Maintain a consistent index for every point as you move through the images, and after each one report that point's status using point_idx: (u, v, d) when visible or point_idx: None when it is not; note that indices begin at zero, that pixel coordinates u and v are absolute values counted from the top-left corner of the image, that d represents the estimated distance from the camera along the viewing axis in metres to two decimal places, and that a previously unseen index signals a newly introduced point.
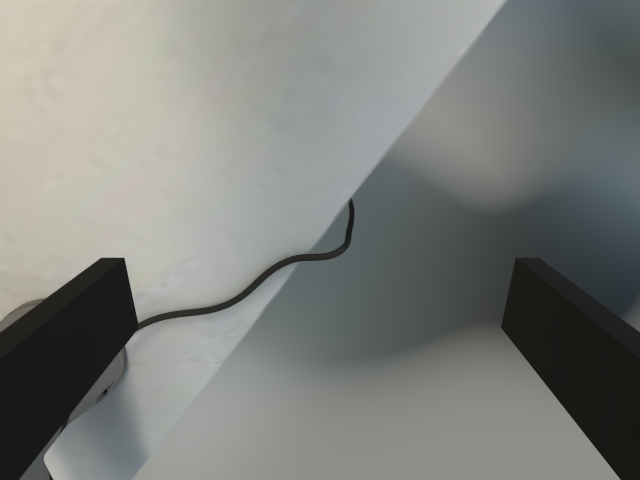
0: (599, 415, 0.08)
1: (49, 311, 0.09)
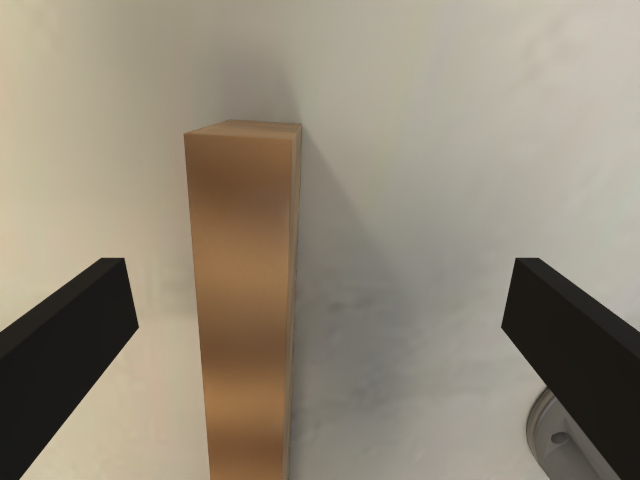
0: (599, 415, 0.08)
1: (49, 311, 0.09)
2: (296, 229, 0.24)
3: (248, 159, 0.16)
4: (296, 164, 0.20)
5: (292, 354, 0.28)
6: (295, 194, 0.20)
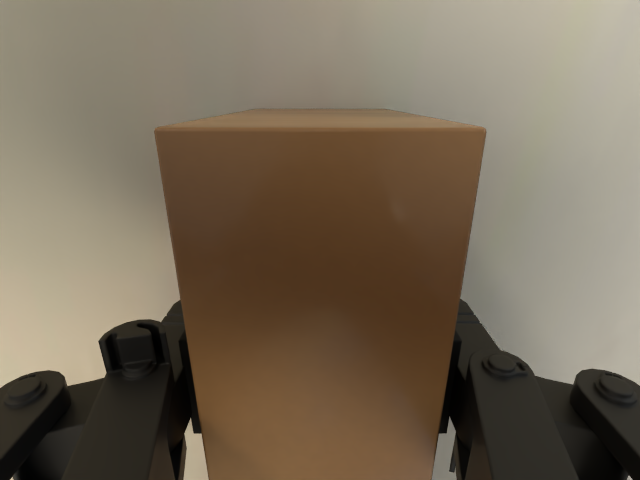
0: None
1: None
2: None
3: (349, 194, 0.05)
4: None
5: None
6: None
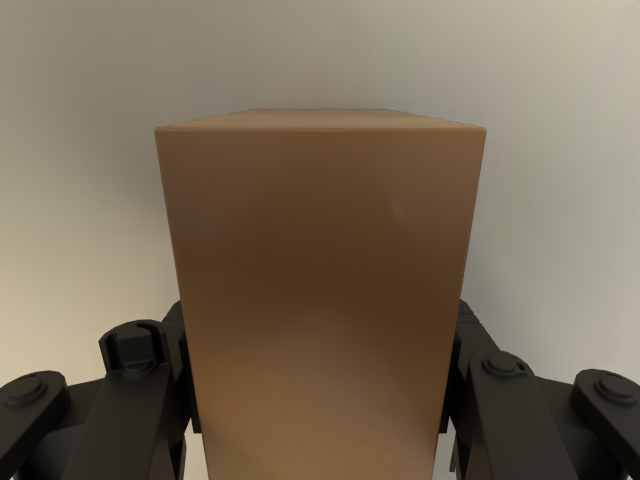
0: None
1: None
2: None
3: (349, 195, 0.05)
4: None
5: None
6: None
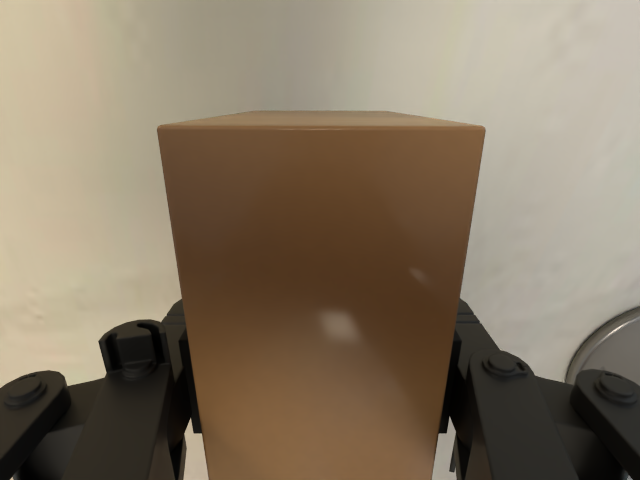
0: None
1: None
2: None
3: (350, 193, 0.05)
4: None
5: None
6: None
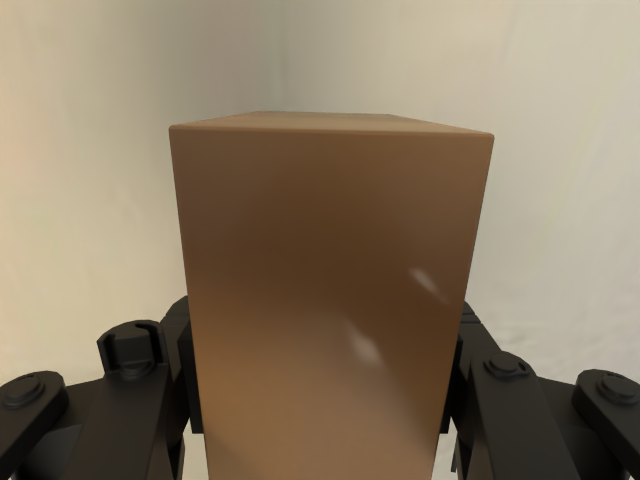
0: None
1: None
2: None
3: (359, 196, 0.06)
4: None
5: None
6: None
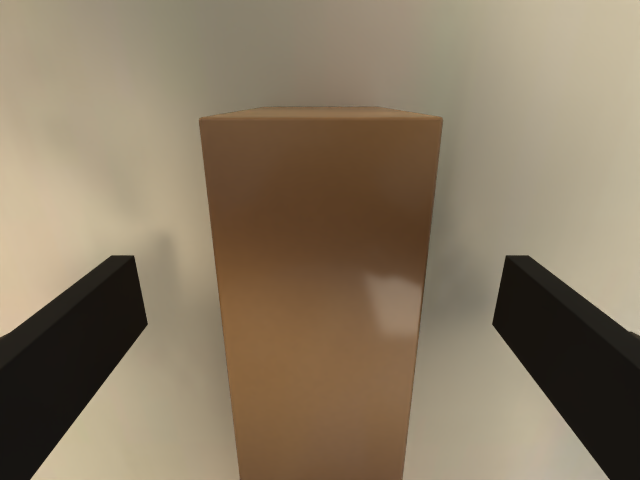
0: (583, 408, 0.09)
1: (63, 307, 0.09)
2: None
3: (343, 168, 0.07)
4: None
5: None
6: None
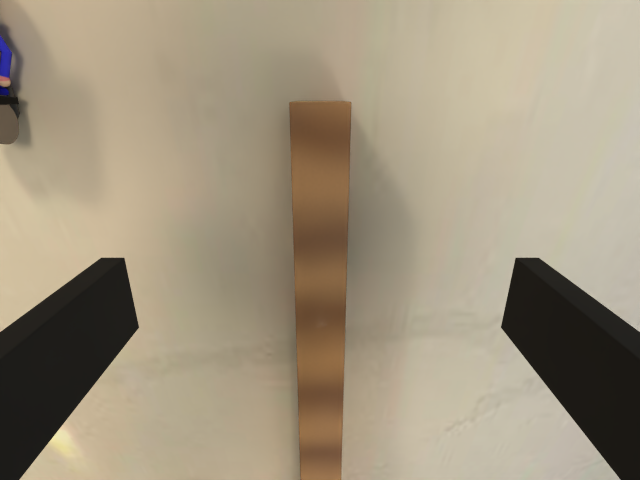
0: (599, 414, 0.08)
1: (49, 311, 0.09)
2: None
3: (326, 115, 0.28)
4: None
5: None
6: None
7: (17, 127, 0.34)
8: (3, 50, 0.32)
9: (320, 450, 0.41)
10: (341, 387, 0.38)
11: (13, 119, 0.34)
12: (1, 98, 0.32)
